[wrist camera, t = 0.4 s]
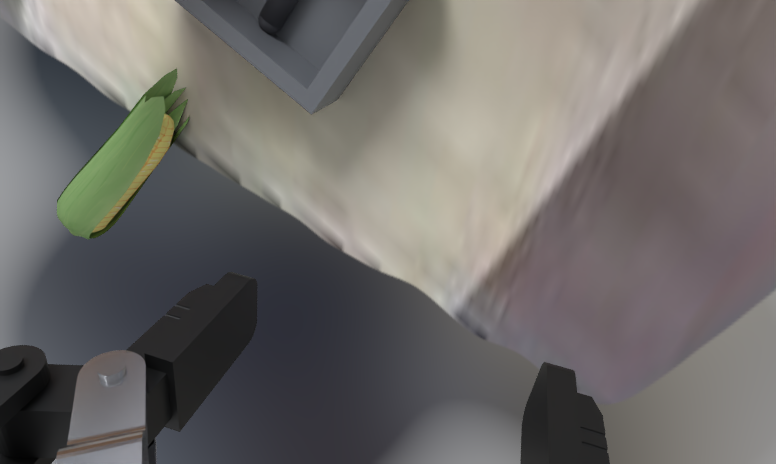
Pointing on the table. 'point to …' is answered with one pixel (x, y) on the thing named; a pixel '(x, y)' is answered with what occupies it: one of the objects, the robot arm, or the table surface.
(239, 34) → the duct box
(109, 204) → the edible corn
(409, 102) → the table surface
